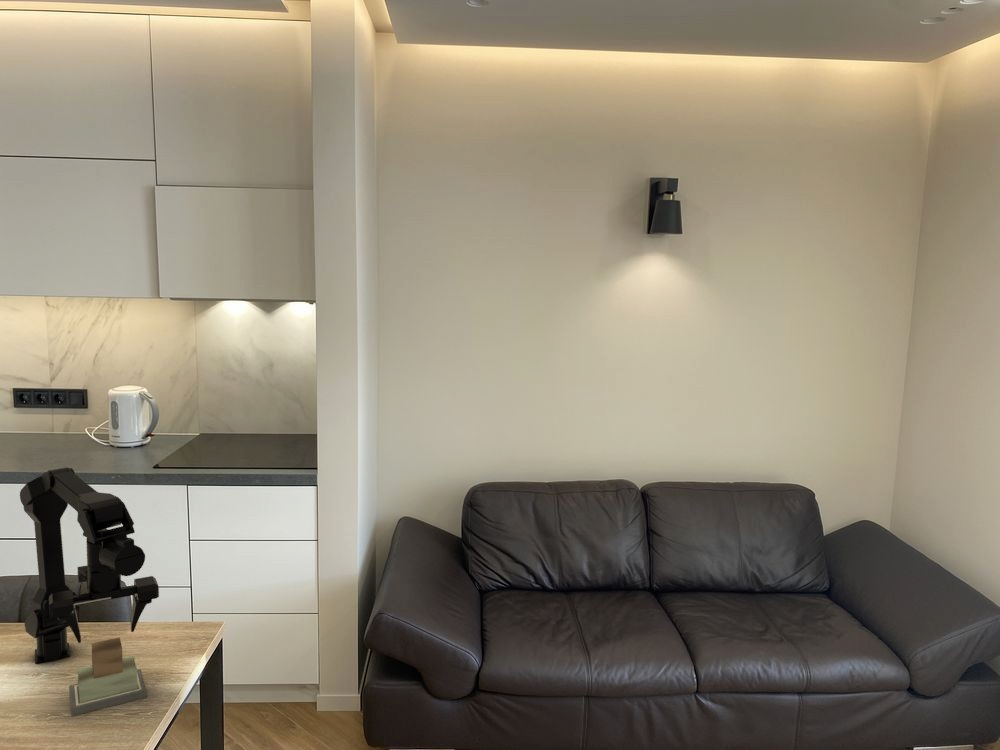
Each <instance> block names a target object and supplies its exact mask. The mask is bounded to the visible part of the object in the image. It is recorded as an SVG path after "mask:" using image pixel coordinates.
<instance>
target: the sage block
mask: <svg viewBox="0 0 1000 750" xmlns="http://www.w3.org/2000/svg"><path fill="white" fill-rule="evenodd" d="M122 659H123V672H120V673H116V674H112V675H108V676H103V677H99V678H95V679H94V675H93V668H92V664H89V665H85V666H81V667H77V684H78V689H79V698H80V703H83V702H87V701H91V700H95V699H99V698H103V697H107V696H111V695H115V694H119V693H123V692H127V691H131V690H135V689H138V685H137V670H138V669H137V665H136V661H135V657H134V655H130V656H129V655H128V656H125V657H122Z"/></svg>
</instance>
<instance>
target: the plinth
mask: <svg viewBox="0 0 1000 750" xmlns="http://www.w3.org/2000/svg"><path fill="white" fill-rule="evenodd" d="M137 685H138V689H135V690H131V691H127V692H123V693H119V694H115V695H111V696H107V697H103V698H99V699H95V700H91V701H87V702H83V703H80V698H79V689H78V683H75V684H71V685H69V686H68V687H69V688H68V689H69V690H68V691H69V701H70V702H69V703H70V704H69V705H70V712H71V713H70V714H71V717H74V716H78V715H81V714H82V715H83V714H86V713H90V712H94V711H97V710H102V709H105V708H109V707H113V706H117V705H122V704H125V703H128V702H133V701H137V700H140V699H141V700H142V699H145V698H147V697H148V696H147V695H148V693H147V692H148V690H147V686H146V683H145V679H144V675H143V672H142V669H141V668H140V669H137Z"/></svg>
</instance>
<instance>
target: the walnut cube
mask: <svg viewBox="0 0 1000 750" xmlns="http://www.w3.org/2000/svg"><path fill="white" fill-rule="evenodd" d="M122 658H123V646H122V641H121V638H120V637H115V638H111V639H105V640H100V641H95V642H92V643H91V665H92V668H93V675H94V679H95V678H99V677H103V676H108V675H112V674H116V673H120V672H123V659H122Z"/></svg>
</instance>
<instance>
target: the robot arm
mask: <svg viewBox="0 0 1000 750" xmlns="http://www.w3.org/2000/svg"><path fill="white" fill-rule="evenodd" d="M19 500H20V502H21V504H22V505H23V511H24V513H25V514H27V516H28V517H30V519H31V520H32V521H33V524H34V525H33V526H34V535H35V547H36V558H37V561H36V562H37V570H38V583H39V588H38V589H37V591H36V593H35V595H34V597H33V598H32V600H31V611H30V613H29V614H28V616H27V617H26V619H25V621H24V628H25V632H26V633H27V634H28V635H30V636H31V637H32V638H33V639H36V648H35V649H34V664H35V665H40V664H45V663H49V662H53V661H54V662H55V661H57V660H58V661H59V660H62V659H66V658H67V659H68V658H70V657H71V650H70V648H71V647H70V642H68V627H69V628H70V629H71V631H72V633H73V635H74V637H75V639H76V640H77V643H78V644H81V643H82V637H81V636H82V635H81V630H80V625H79V620H78V618H79V612H80V606H81V605H87V604H92V603H98V602H103V601H109V600H114V599H119V598H125V597H131V596H132V605H131V615H130V632H131V633H134V632H135V629H136V626H137V624H138V623H139V619H140V617H141V615H142V613H143V611H144V609H145V607H146V606H147V605H150V604H152V603H153V600H155V599H158V598H159V597H160V587H159V584H158V581H157V578H156V577H154V576H153V575H150V576H145V577H138V578H134V579H133V585H126V586H122V576H123V577H129V576H132V575H135V574H136V573H139V571H140V570H141V568H143V566H144V564H145V561H146V554H145V552H144V550H143V548H142V547H140V546H138V545H136V544H135V539H133V538H132V537H128V536H129V535H132V534H135V528H134V525H135V523H134V521H133V519H132V517H131V514H130V512H129V510H128V507H127V505H126V504H125V502H124V501H123V500H122V499H121V498H120V497H119V496H116V495H114V494H113V493H108V492H99V491H97V490H96V489H94V488H93V487H92V486H91V485H90V484H88V483H86V481H85V480H83V479H82V478H80V477H79V476H78V475H77V474H76V472H75V470H74V469H73V468H72V467H61V468H55V469H48V470H47V471H45V472H43V473H42V474H41V475H40V476H39V477H37V478H35V479H33V480H31V481H28V482H27V483H25V484H24V486H23V487H22V488H21V489H20V492H19ZM68 505H69V506H70V507H71V508H72V509H74V510H75V511H76V513H77V520H76V521H77V522H78V524H79V526H80V528H81V530H82V531H83V532H82V537H85V538H86V565H81V566H77V583H79V584H80V583H85V582H86V589H87V593H81V594H76V592H75V591H73V589H71V588H70V587H69V586H68V585H67V584H66V575H65V574H66V573H65V562H64V561H65V560H64V549H63V538H62V525H61V520H62V519H61V518H62V517H63V516H64V513H65V512H66V511H67V508H68V507H69V506H68ZM121 525H122V526H121ZM113 527H114V528H113ZM110 528H111V529H110Z"/></svg>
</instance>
